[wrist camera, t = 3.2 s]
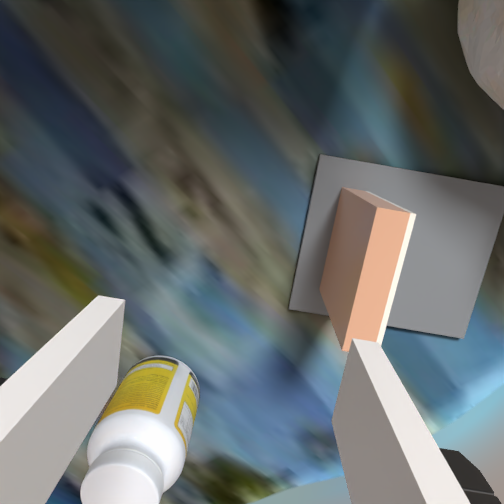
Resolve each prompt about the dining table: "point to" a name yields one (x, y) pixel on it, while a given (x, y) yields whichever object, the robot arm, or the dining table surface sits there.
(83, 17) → the dining table surface
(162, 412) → the pill bottle
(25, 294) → the dining table surface
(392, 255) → the tile
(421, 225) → the mat
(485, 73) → the white garlic bulb
